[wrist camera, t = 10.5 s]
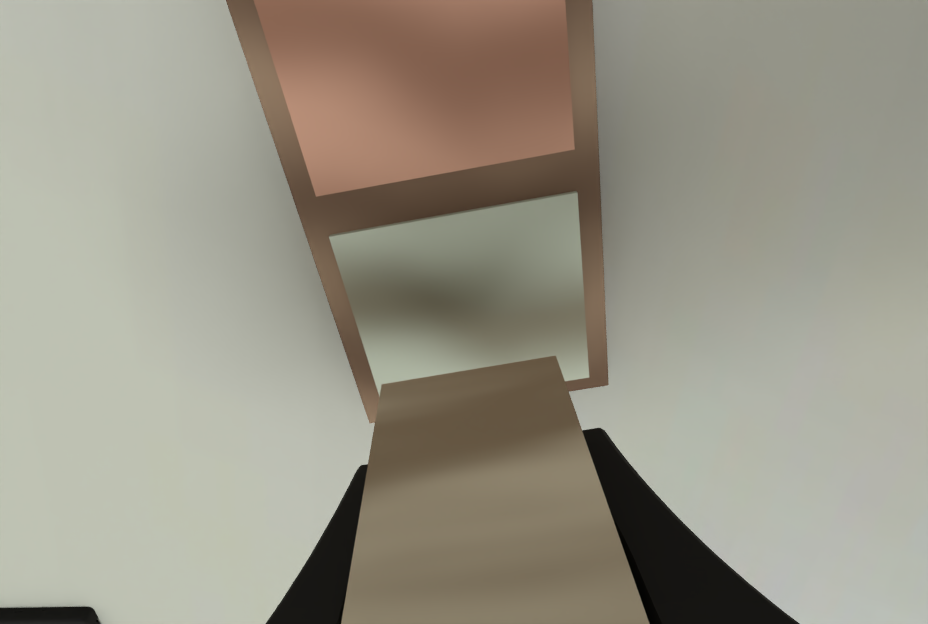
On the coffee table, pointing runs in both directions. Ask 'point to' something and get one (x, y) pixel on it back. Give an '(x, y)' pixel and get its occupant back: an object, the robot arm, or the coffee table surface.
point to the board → (442, 177)
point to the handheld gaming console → (48, 615)
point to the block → (486, 508)
